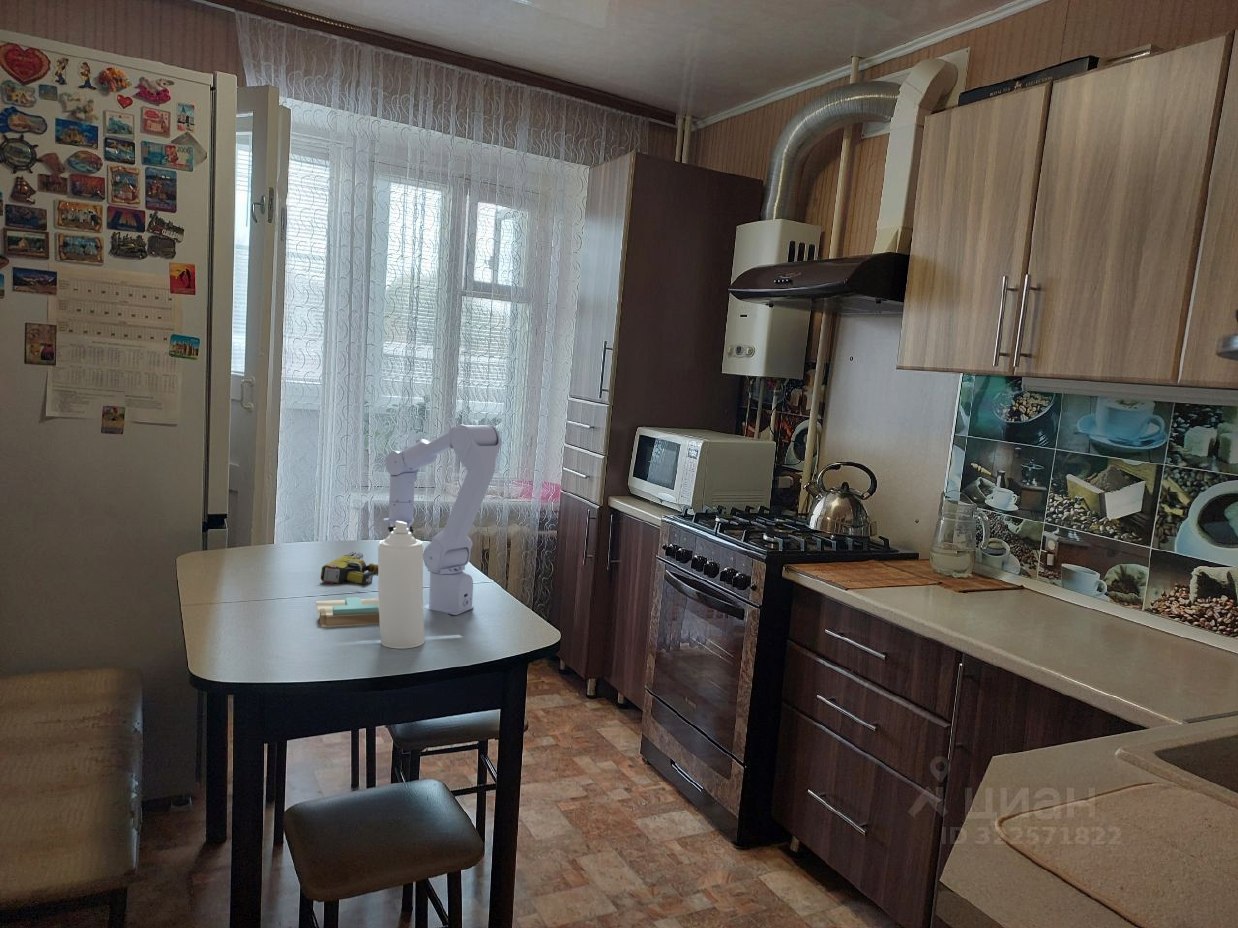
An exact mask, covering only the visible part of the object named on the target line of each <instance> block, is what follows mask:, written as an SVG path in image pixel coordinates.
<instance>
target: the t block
mask: <svg viewBox="0 0 1238 928" xmlns="http://www.w3.org/2000/svg"><path fill="white" fill-rule="evenodd" d="M360 599H361V597H360V596H358V597H357V596H355V597H353V596H352V597H344V600H345V605H339V606H333V615H336V614H356V613H375V612H378V611H379V607H378V605H377V604H362V602H361V600H360Z"/></svg>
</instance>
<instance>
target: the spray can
mask: <svg viewBox="0 0 1238 928" xmlns="http://www.w3.org/2000/svg"><path fill="white" fill-rule="evenodd" d="M394 526H395V528H394V529H393V531H392V532H389V535H388V536H387V537H386V538H384V539H381V540H380V541H379V545H378V547H377V552H378V553H377V559H378V561H377V565H378V573H377V574H378V575H377V577H378V581H377V582H378V583H377V585H378V587H377V595H378V596H377V598H378V600H379V621H380V624H379V635H380V644H381V645H382V646H384V647H386V648H391V649H396V650H397V649H398V650H401V649H402V650H405V649H411V648H413V649H414V648H416V647H420V646H422V645H423V644H424V643H425V642H426V637H425V619H424V613H425V612H424V608H423V606H424V592H423V590H424V560H423V553H424V549H425V547H424V545H423V543H424V542H423V541H422V540H420V539H417V538H415V537H414V536H413V533H411V532H409V529H408V528H407V523H405V522H402V521H396V523H395V525H394Z"/></svg>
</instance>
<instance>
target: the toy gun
mask: <svg viewBox="0 0 1238 928" xmlns="http://www.w3.org/2000/svg"><path fill="white" fill-rule="evenodd" d="M363 559H364V555H363V553H362V552H358V553H357V552H356V551H352V552H350V553H349V554H345V555H343V556H340V557H338V558H336V559H335V560H332V561H331V562H329V563H326V564H324V565H323V566H322V567H321V572H320V580H321V581H322V582H323V583H326V584H330V585H333V584H338V585H342V584H347V583H348V584H349V583H357V584H360V585H362V586H367V585H369V584H372V583H373V576H374V574H378V563H377V564H374V563H369V564H368V565H367V564H366V561H364V560H363ZM365 572H366V573H365Z"/></svg>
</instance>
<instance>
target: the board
mask: <svg viewBox="0 0 1238 928" xmlns="http://www.w3.org/2000/svg"><path fill="white" fill-rule="evenodd" d="M360 600H361V602H362V604H377V605H378V607H379V600H378V597H377V598H376V597H375V598H374V597H373V598H360ZM315 603H316V609H317V612H318V617H319V622H320V627H321V628H326V627H327V628H328V627H329V628H330V627H343V626H345V627H346V626H347V627H348V626H361V625H363V626H365V625H380V621H379V611H378V612H375V613H356V614H336V615H333V606H339V605H345V599H333V600H316V601H315Z"/></svg>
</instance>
